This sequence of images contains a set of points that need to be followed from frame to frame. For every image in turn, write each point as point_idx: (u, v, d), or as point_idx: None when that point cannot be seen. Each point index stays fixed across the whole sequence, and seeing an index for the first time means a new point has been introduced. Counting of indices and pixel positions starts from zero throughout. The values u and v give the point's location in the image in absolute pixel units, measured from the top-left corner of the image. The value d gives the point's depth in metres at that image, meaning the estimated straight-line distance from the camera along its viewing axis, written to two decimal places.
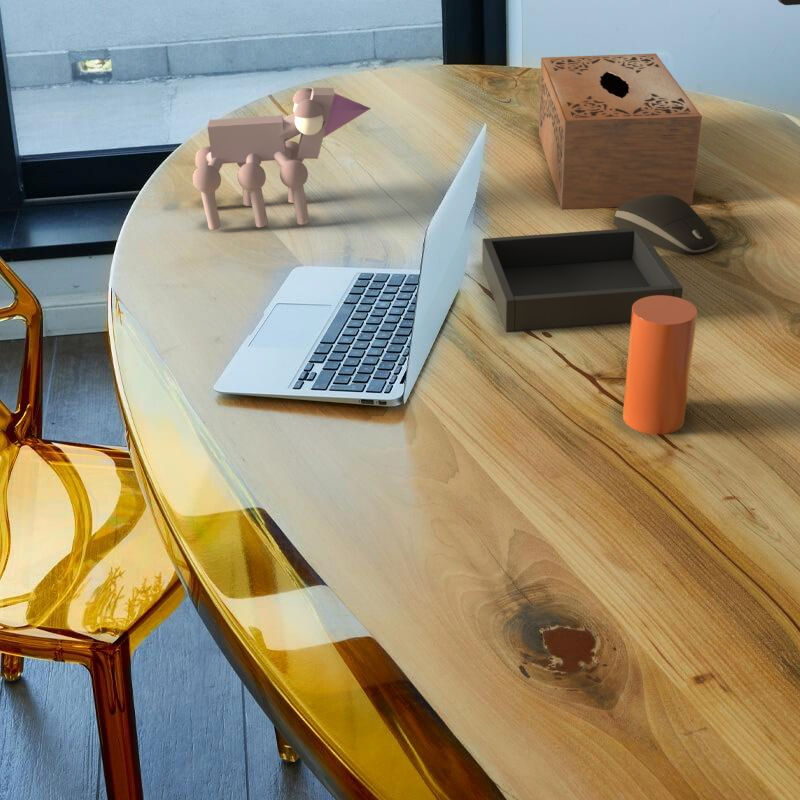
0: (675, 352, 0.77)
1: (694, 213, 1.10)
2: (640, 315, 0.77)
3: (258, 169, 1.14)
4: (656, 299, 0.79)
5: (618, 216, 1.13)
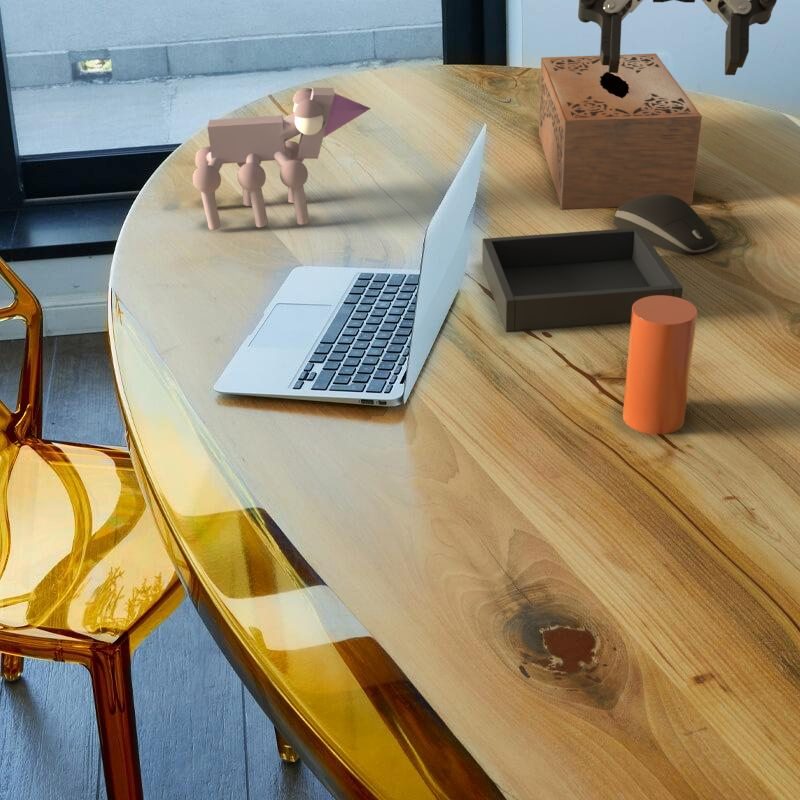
0: (675, 352, 0.77)
1: (694, 213, 1.10)
2: (640, 315, 0.77)
3: (258, 169, 1.14)
4: (656, 299, 0.79)
5: (618, 216, 1.13)
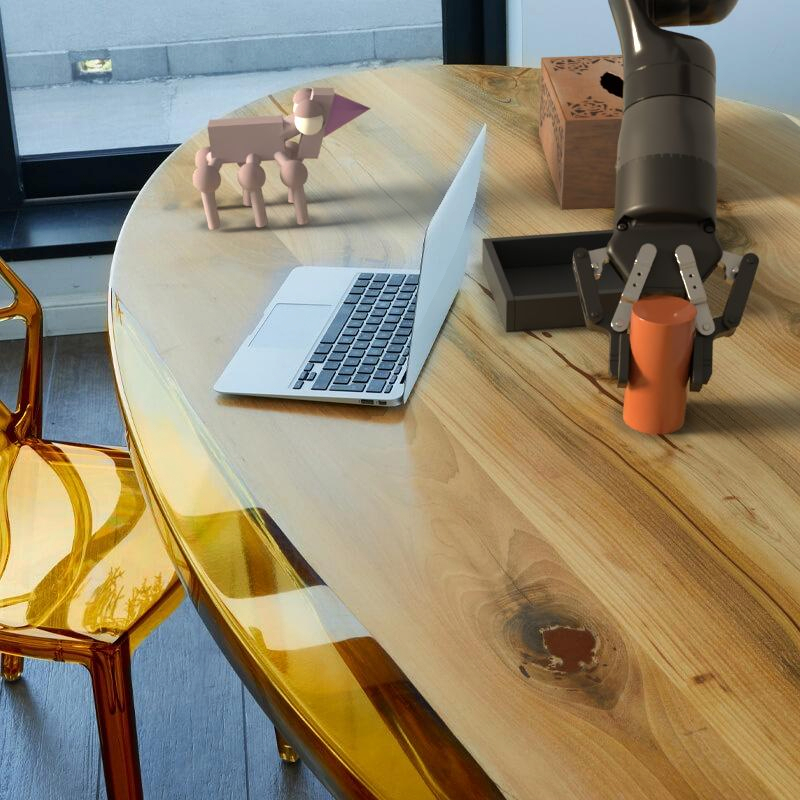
0: (675, 352, 0.77)
1: None
2: (640, 315, 0.77)
3: (258, 169, 1.14)
4: (656, 299, 0.79)
5: None
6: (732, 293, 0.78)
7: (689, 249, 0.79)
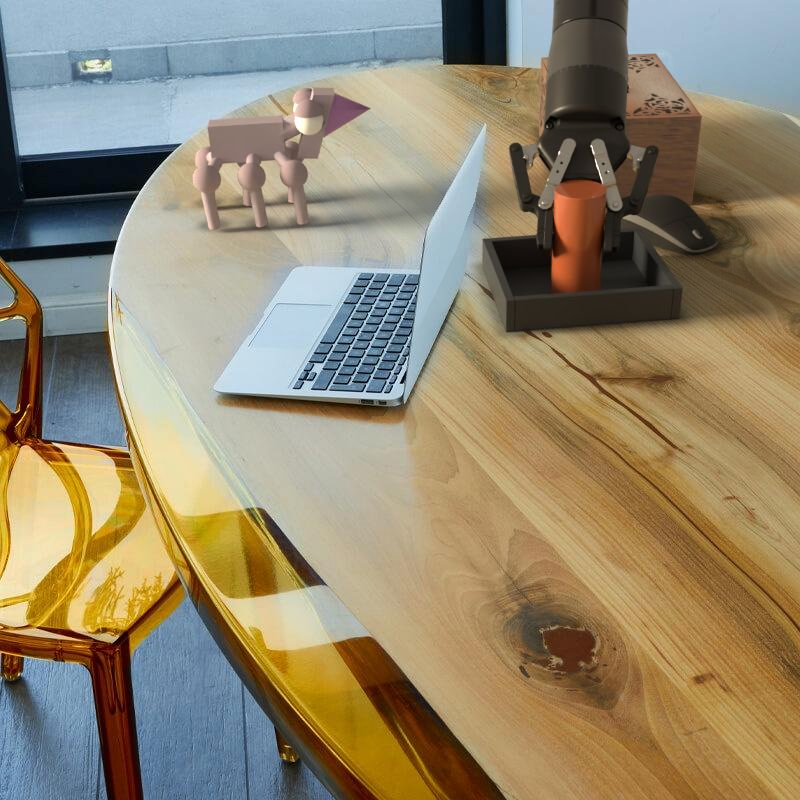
0: (588, 222, 0.95)
1: (694, 213, 1.10)
2: (560, 193, 0.95)
3: (258, 169, 1.14)
4: (575, 182, 0.97)
5: None
6: (637, 177, 0.97)
7: (602, 142, 0.97)
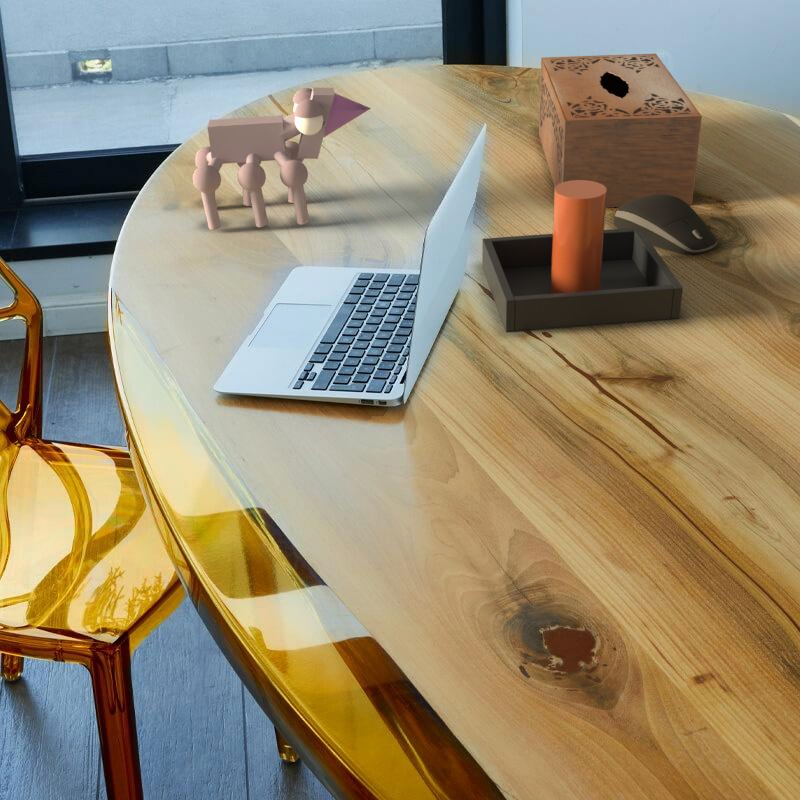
0: (588, 222, 0.95)
1: (694, 213, 1.10)
2: (560, 193, 0.95)
3: (258, 169, 1.14)
4: (575, 182, 0.97)
5: (618, 216, 1.13)
6: None
7: None
